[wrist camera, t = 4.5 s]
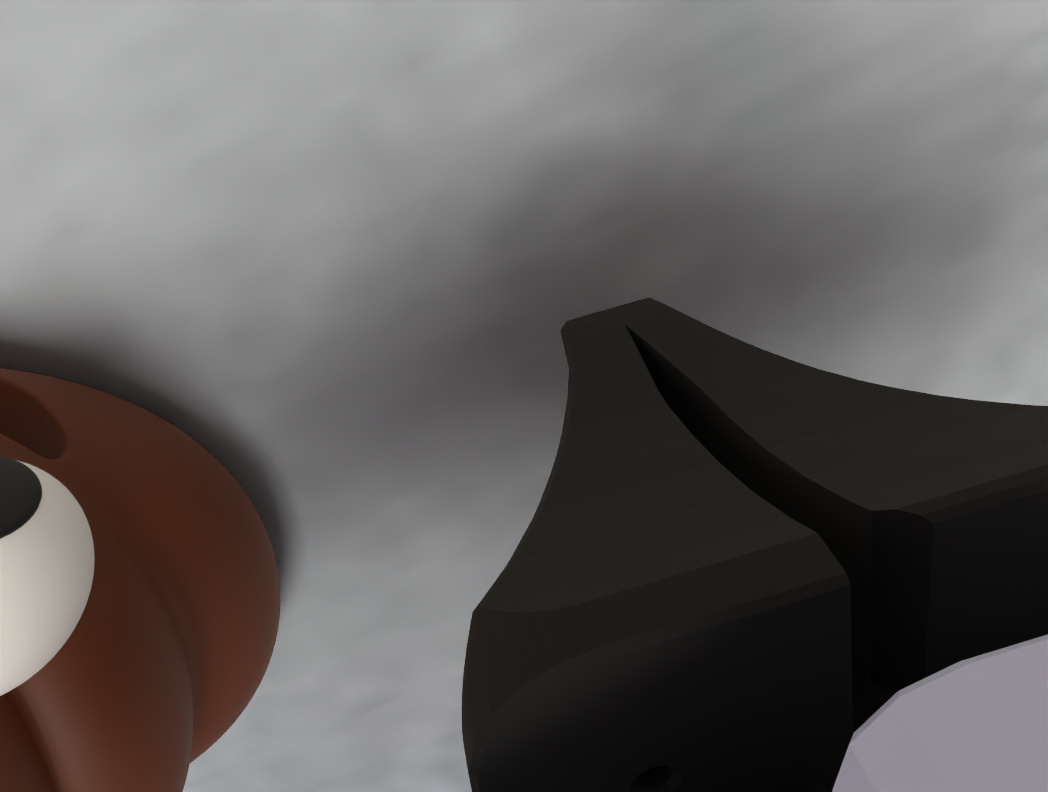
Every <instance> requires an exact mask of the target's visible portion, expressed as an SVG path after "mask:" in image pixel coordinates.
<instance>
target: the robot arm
mask: <svg viewBox="0 0 1048 792" xmlns="http://www.w3.org/2000/svg"><path fill="white" fill-rule="evenodd" d="M561 335H562V339H563V343H564V348H565V352H566V357H567V361H568V366H569V382H568V398H567V405H566V412H565V418H564V424H563V430H562V435H561V439H560V444H559V448H558V451H557V455H556V459H555V462H554V465H553V468H552V472H551V475H550V477H549V480H548V483H547V485H546V488H545V491H544V493H543V496H542V498H541V501H540V503H539V506H538V508H537V510H536V512H535V515H534V517H533V519H532V521H531V523H530V524H529V526H528V528H527V530H526V532H525V534H524V535H523V537H522V539H521V541H520V543H519V545H518V546H517V548H516V550H515V552H514V554H513V556H512V557H511V559H510V561H509V562H508V564H507V565H506V567H505V569H504V570H503V571H502V573H501V574H500V576H499V577H498V578H497V580H496V581H495V583H494V584H493V585H492V587H491V588H490V589H489V591H488V592H487V594H486V595H485V596H484V598H483V599H482V601H481V602H480V603H479V604H478V606H477V607H476V608H475V609H474V611H473V614H472V619H471V625H470V631H469V637H468V643H467V650H466V658H465V666H464V675H463V690H462V733H463V742H464V748H465V755H466V761H467V767H468V773H469V778H470V783H471V788H472V792H1048V406H1033V405H1020V404H1009V403H998V402H988V401H977V400H968V399H960V398H953V397H945V396H938V395H932V394H926V393H920V392H915V391H909V390H904V389H898V388H892V387H887V386H882V385H878V384H873V383H869V382H864V381H860V380H856V379H853V378H849V377H845V376H842V375H838V374H834V373H830V372H827V371H823V370H819V369H816V368H813V367H810V366H807V365H804V364H800V363H797V362H795V361H792V360H789V359H787V358H784V357H781V356H778V355H776V354H773V353H770V352H768V351H765V350H762V349H760V348H757V347H755V346H752V345H750V344H748V343H745V342H743V341H740V340H738V339H736V338H734V337H731V336H729V335H727V334H725V333H722V332H720V331H718V330H716V329H714V328H712V327H709V326H707V325H705V324H703V323H701V322H699V321H697V320H695V319H693V318H691V317H689V316H687V315H685V314H683V313H681V312H679V311H677V310H675V309H673V308H671V307H669V306H666V305H664V304H662V303H660V302H658V301H656V300H653V299H651V298H646V299H642V300H639V301H635V302H632V303H628V304H625V305H621V306H618V307H614V308H611V309H607V310H604V311H600V312H597V313H594V314H590V315H587V316H583V317H580V318H576V319H573V320H569V321H567V322H566V323H565V325H564V326H563V328H562V329H561Z"/></svg>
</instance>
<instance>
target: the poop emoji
mask: <svg viewBox="0 0 1048 792" xmlns="http://www.w3.org/2000/svg"><path fill="white" fill-rule="evenodd" d="M279 615H280V585H279V575H278V569H277V564H276V559H275V555H274V551H273V548H272V545H271V542H270V539H269V536H268V534H267V531H266V529H265V526H264V524H263V522H262V520H261V518H260V516H259V514H258V512H257V510H256V508H255V507H254V505H253V503H252V502H251V500H250V499H249V497H248V496H247V494H246V493H245V491H244V490H243V489H242V487H241V486H240V484H239V483H238V482H237V481H236V479H235V478H234V477H233V476H232V475H231V473H230V472H229V471H228V470H227V469H226V468H225V467H224V466H223V465H222V464H221V463H220V462H219V461H218V460H217V459H216V458H215V457H214V456H213V455H212V454H211V453H210V452H208V451H207V450H206V449H205V448H204V447H203V446H202V445H200V444H199V443H198V442H196V441H195V440H194V439H193V438H191V437H190V436H188V435H187V434H186V433H184V432H183V431H181V430H180V429H178V428H177V427H175V426H174V425H172V424H170V423H169V422H167V421H166V420H164V419H162V418H160V417H158V416H157V415H155V414H153V413H151V412H149V411H147V410H145V409H143V408H141V407H139V406H137V405H135V404H133V403H130V402H128V401H126V400H124V399H121V398H119V397H116V396H114V395H111V394H108V393H106V392H103V391H100V390H97V389H94V388H91V387H88V386H85V385H81V384H78V383H74V382H71V381H67V380H63V379H59V378H55V377H50V376H46V375H40V374H35V373H30V372H24V371H18V370H11V369H3V368H0V792H182V791H183V788H184V784H185V780H186V777H187V772H188V768H189V764H190V763H191V762H192V761H194V760H195V759H196V758H197V757H199V756H200V755H201V754H202V753H204V752H205V751H206V750H207V749H208V748H209V747H210V746H212V745H213V744H214V743H215V742H216V741H217V740H218V739H219V738H220V737H221V736H222V735H223V734H224V733H225V732H226V731H227V730H228V729H229V727H230V726H231V725H232V724H233V723H234V722H235V721H236V719H237V718H238V717H239V715H240V714H241V713H242V711H243V710H244V709H245V707H246V706H247V704H248V703H249V701H250V700H251V698H252V697H253V695H254V693H255V692H256V690H257V688H258V686H259V684H260V682H261V680H262V678H263V676H264V674H265V672H266V669H267V667H268V664H269V661H270V659H271V655H272V652H273V648H274V645H275V641H276V636H277V631H278V624H279Z"/></svg>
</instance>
